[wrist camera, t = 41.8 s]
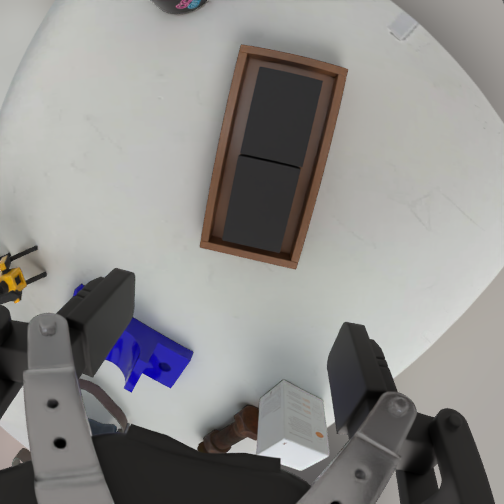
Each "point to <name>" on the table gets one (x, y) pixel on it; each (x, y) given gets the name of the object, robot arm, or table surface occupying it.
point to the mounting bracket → (147, 354)
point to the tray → (232, 143)
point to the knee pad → (94, 425)
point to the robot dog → (14, 278)
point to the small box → (292, 427)
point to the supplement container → (178, 5)
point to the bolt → (232, 432)
